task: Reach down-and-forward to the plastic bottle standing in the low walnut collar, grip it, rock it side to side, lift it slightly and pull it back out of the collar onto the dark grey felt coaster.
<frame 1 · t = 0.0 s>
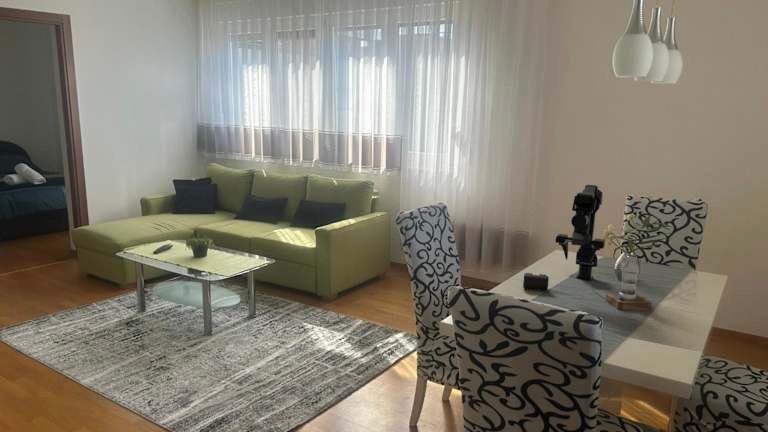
hand: (578, 261, 237), 15 cm above the table, tool pointing down, fingers open, 9 cm apart
felt coaster: (613, 295, 241), on the table
plastic bottle: (626, 304, 232), on the table
end cap: (534, 290, 246), on the table
walnut collar: (626, 304, 232), on the table
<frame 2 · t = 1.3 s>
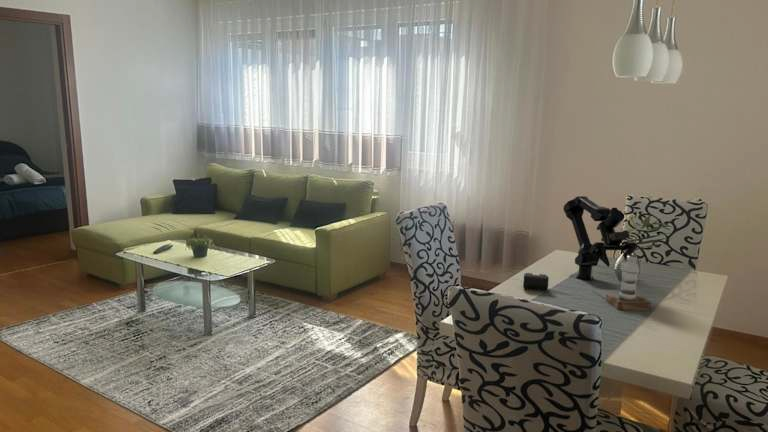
hand: (619, 266, 237), 13 cm above the table, tool tilted 45°, fingers open, 9 cm apart
nothing on the table moved.
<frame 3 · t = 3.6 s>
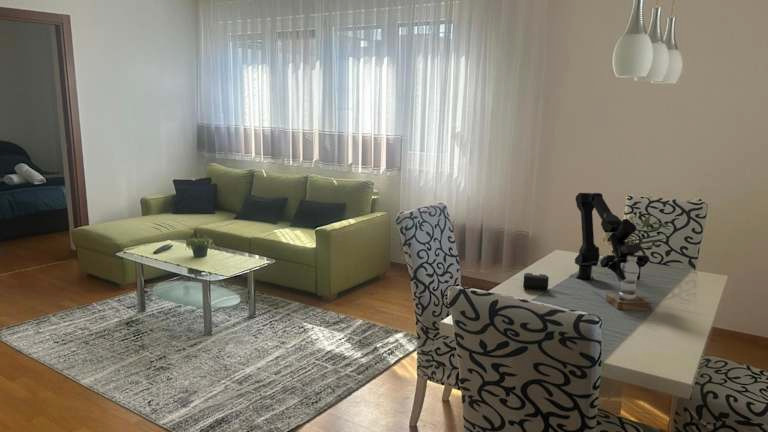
hand: (631, 279, 228), 11 cm above the table, tool tilted 45°, fingers closed on plastic bottle, 6 cm apart
plastic bottle: (626, 304, 232), on the table, touching gripper
everything else where it was.
when the fingers open (12 cm above the table, at t = 7.6 s): plastic bottle stays where it is, resting on felt coaster.
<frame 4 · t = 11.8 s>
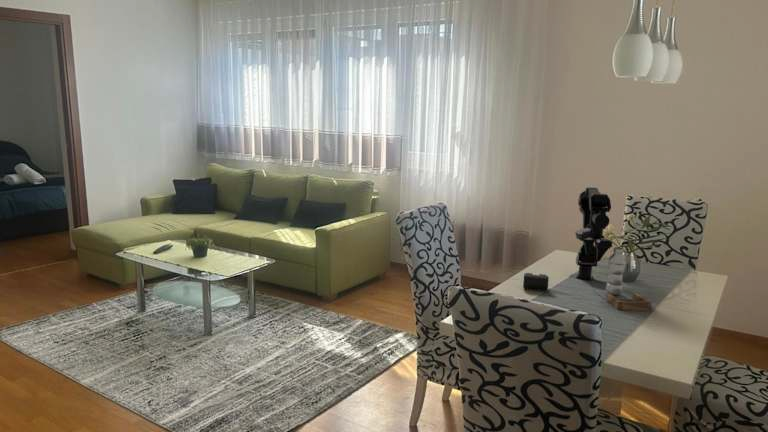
hand: (592, 258, 249), 13 cm above the table, tool pointing down, fingers open, 9 cm apart
plastic bottle: (613, 294, 241), resting on felt coaster
everything else where it was.
at the end: plastic bottle inside the target area on the felt coaster (0.3 cm from its centre), point 0.2 cm above the felt coaster's base; plastic bottle tilted 0°; the gripper is holding nothing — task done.
